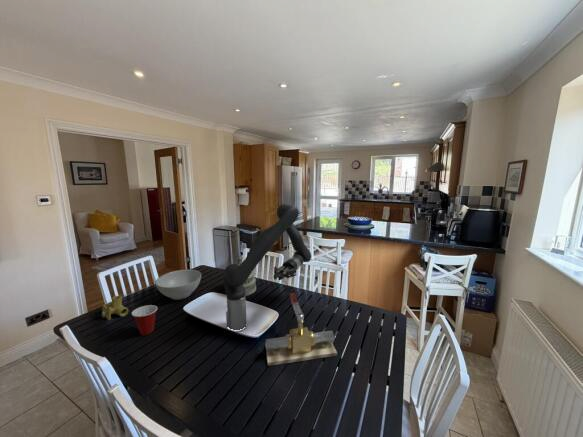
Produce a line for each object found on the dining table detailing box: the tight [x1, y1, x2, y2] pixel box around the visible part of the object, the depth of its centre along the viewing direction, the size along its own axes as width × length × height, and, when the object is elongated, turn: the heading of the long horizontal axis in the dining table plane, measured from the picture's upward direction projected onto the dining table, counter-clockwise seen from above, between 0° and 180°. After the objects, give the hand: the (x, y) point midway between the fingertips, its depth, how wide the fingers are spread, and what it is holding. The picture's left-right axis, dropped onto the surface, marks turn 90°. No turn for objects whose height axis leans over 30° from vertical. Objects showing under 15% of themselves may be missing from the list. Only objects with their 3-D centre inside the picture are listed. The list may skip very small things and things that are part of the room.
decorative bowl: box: [154, 269, 202, 301], centre depth 151 cm, size 27×27×12 cm
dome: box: [236, 254, 257, 297], centre depth 156 cm, size 20×25×20 cm
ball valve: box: [101, 295, 129, 321], centre depth 129 cm, size 13×10×10 cm
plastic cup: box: [131, 304, 158, 336], centre depth 115 cm, size 11×11×12 cm
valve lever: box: [289, 292, 305, 324], centre depth 109 cm, size 20×3×3 cm, turn 11°
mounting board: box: [265, 342, 338, 367], centre depth 104 cm, size 30×12×3 cm, turn 101°
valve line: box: [265, 322, 335, 354], centre depth 102 cm, size 30×7×13 cm, turn 101°
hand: (276, 278), depth 113 cm, fingers closed
